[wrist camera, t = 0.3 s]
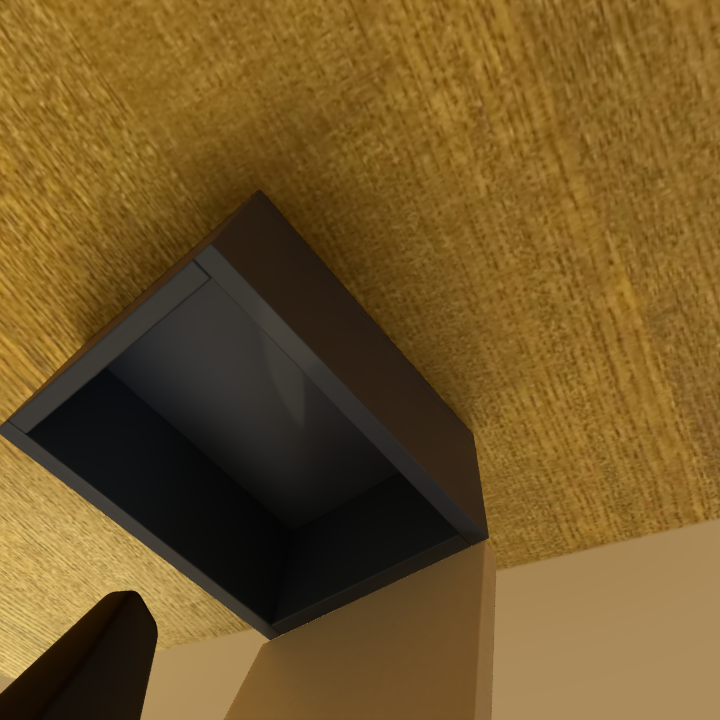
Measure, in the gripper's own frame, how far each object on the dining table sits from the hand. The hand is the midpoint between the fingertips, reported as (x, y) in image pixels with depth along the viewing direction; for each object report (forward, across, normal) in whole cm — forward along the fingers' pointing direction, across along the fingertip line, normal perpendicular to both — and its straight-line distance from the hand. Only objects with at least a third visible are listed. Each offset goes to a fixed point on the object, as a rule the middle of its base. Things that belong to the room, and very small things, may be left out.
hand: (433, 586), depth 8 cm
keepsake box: (+16, +8, +6) cm, 19 cm away
